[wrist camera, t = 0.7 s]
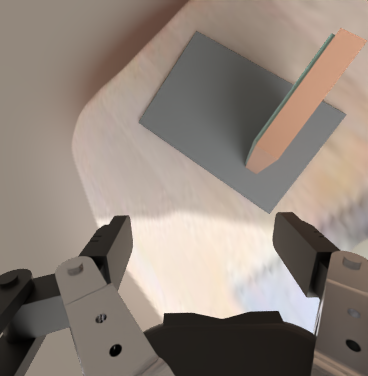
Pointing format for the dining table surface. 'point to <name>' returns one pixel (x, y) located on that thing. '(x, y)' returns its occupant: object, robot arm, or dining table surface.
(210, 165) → the mat
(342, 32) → the glazed tile
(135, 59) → the dining table surface
